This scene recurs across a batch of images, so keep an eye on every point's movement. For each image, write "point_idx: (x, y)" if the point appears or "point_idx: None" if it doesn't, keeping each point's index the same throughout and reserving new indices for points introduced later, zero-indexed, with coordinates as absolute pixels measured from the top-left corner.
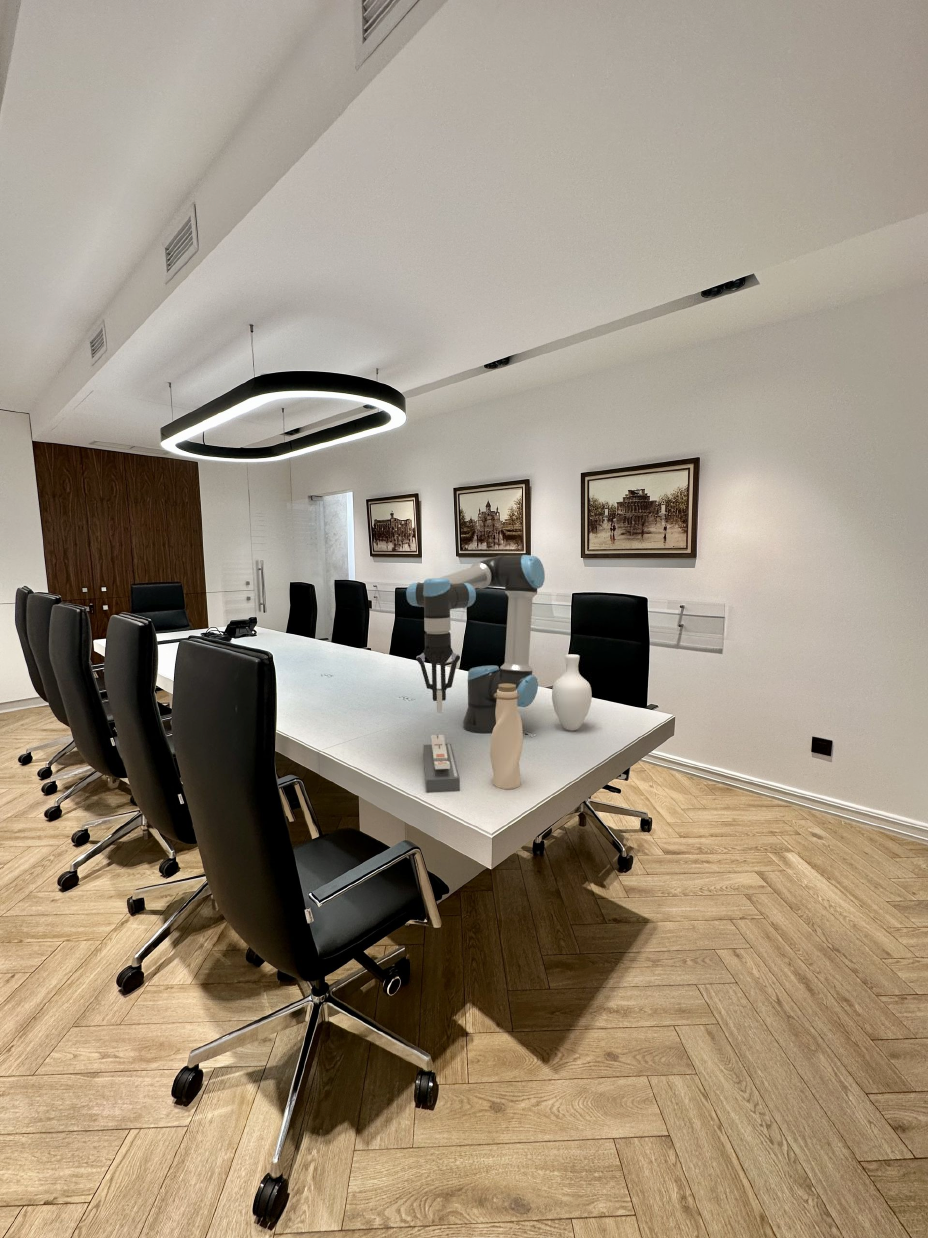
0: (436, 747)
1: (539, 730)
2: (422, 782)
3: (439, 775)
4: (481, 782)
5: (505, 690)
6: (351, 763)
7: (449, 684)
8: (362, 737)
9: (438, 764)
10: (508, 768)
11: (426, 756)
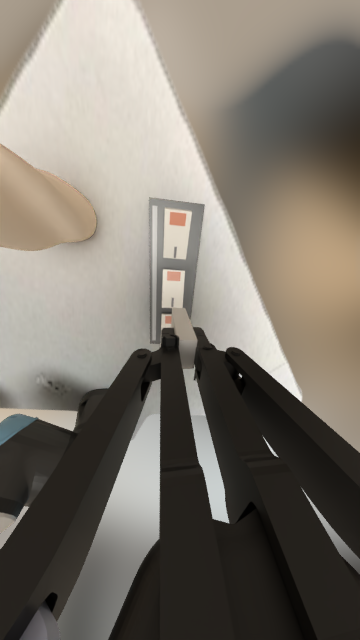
0: (176, 302)
1: (32, 392)
2: (199, 249)
3: None
4: (115, 230)
5: None
6: (267, 325)
7: (142, 358)
8: None
9: (185, 211)
10: (44, 173)
11: (189, 303)
